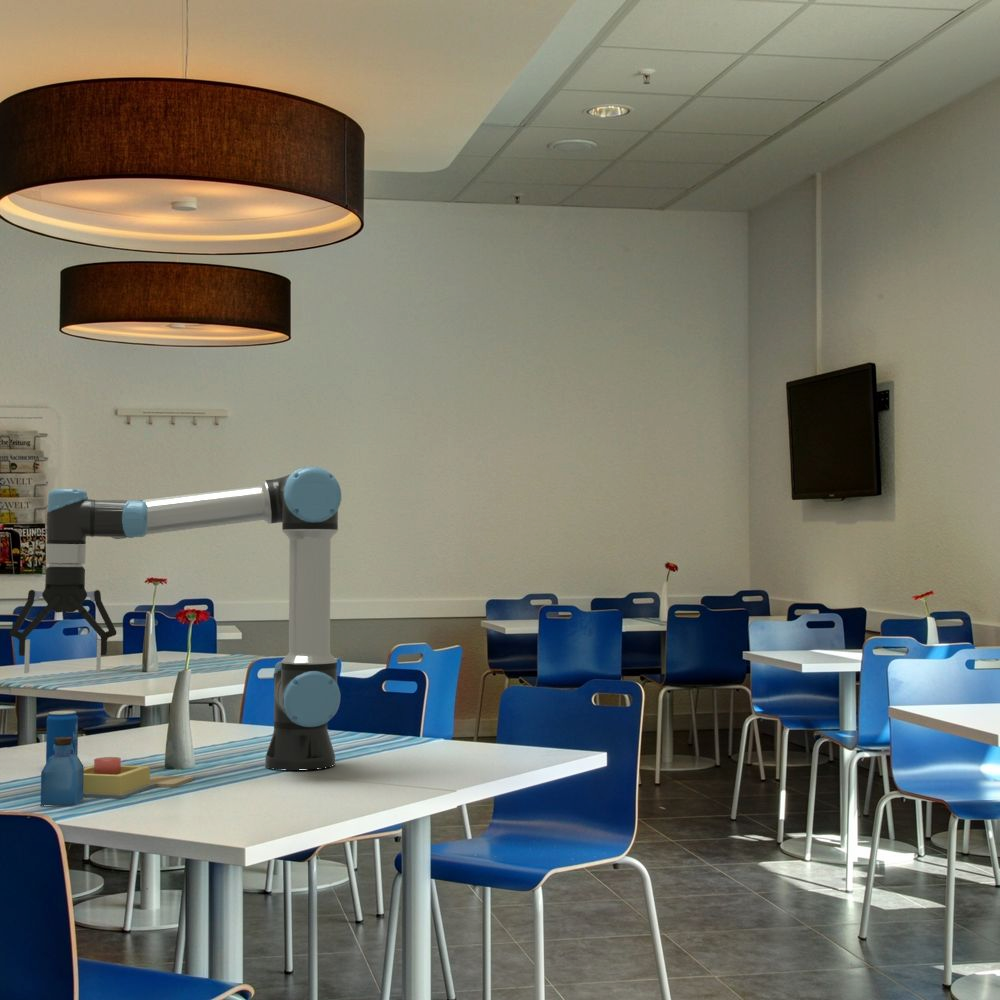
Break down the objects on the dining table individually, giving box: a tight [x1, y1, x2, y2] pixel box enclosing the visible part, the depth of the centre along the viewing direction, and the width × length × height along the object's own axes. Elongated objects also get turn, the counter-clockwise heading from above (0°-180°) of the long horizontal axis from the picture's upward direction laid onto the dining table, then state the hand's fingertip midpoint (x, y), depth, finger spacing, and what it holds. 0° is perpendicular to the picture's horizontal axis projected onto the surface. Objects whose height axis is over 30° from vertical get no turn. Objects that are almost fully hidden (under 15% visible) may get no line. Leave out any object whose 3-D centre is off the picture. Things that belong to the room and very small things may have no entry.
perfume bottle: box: [40, 737, 85, 807], centre depth 243 cm, size 6×6×12 cm
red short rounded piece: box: [93, 756, 122, 775], centre depth 255 cm, size 5×5×3 cm
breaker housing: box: [83, 764, 157, 800], centre depth 255 cm, size 14×14×4 cm
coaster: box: [150, 774, 195, 788], centre depth 264 cm, size 9×9×1 cm
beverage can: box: [45, 710, 79, 764], centre depth 284 cm, size 6×6×12 cm
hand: (62, 672), depth 261 cm, fingers open, 13 cm apart
